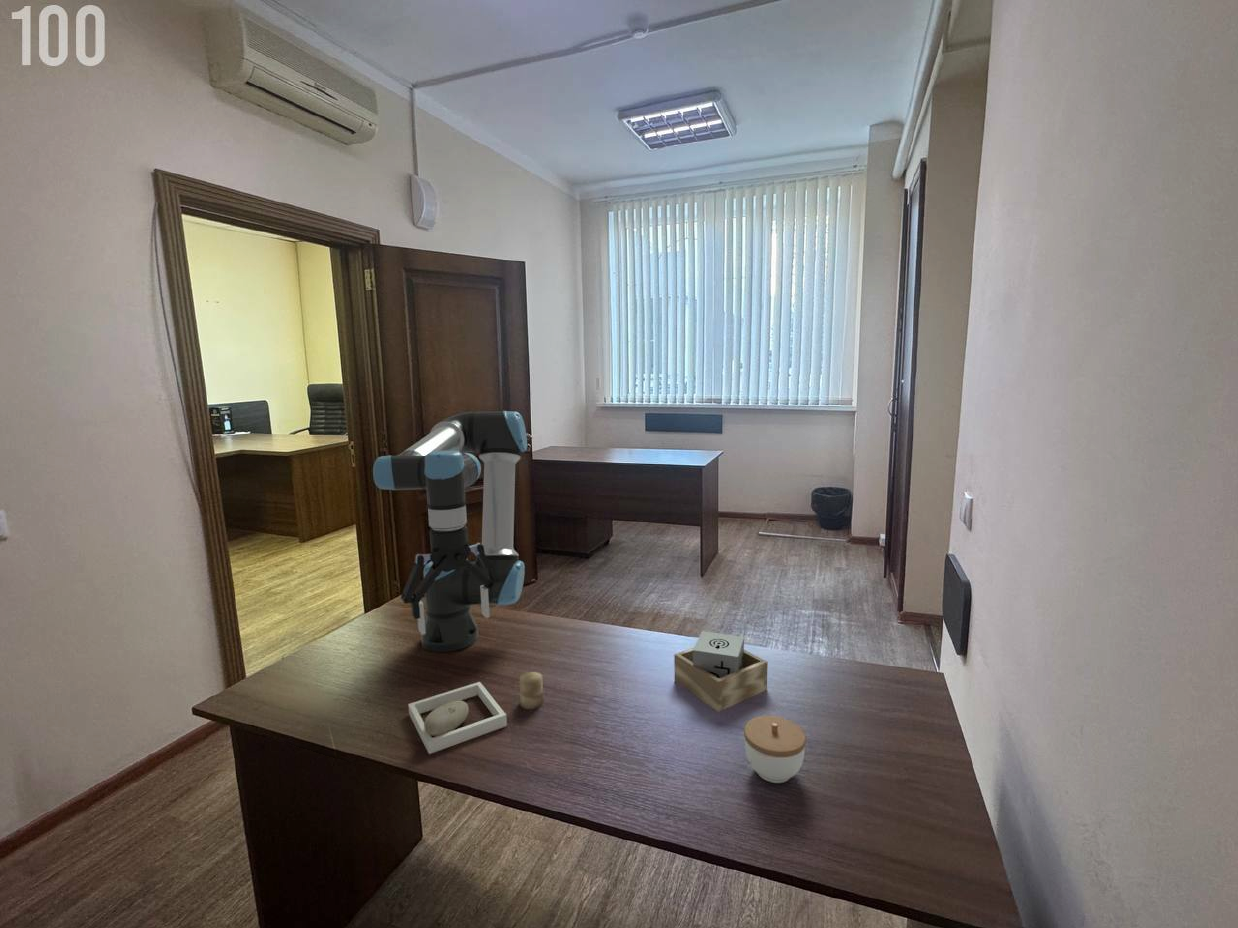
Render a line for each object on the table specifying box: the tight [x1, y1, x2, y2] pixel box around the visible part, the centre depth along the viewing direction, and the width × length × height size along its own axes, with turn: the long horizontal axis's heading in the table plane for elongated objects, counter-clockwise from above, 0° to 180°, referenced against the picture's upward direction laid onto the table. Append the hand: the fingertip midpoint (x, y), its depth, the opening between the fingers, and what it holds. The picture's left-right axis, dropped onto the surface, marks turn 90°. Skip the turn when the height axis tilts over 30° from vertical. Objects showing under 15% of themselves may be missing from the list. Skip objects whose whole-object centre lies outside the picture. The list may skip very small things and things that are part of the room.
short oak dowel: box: [519, 671, 544, 710], centre depth 127 cm, size 5×5×6 cm
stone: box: [423, 700, 470, 737], centre depth 117 cm, size 6×6×12 cm
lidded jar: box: [743, 715, 807, 784], centre depth 103 cm, size 11×11×9 cm
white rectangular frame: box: [407, 681, 508, 755], centre depth 121 cm, size 16×16×2 cm
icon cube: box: [693, 630, 745, 678], centre depth 132 cm, size 10×10×10 cm
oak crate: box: [673, 647, 769, 713], centre depth 132 cm, size 15×15×7 cm
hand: (454, 623), depth 121 cm, fingers open, 13 cm apart
